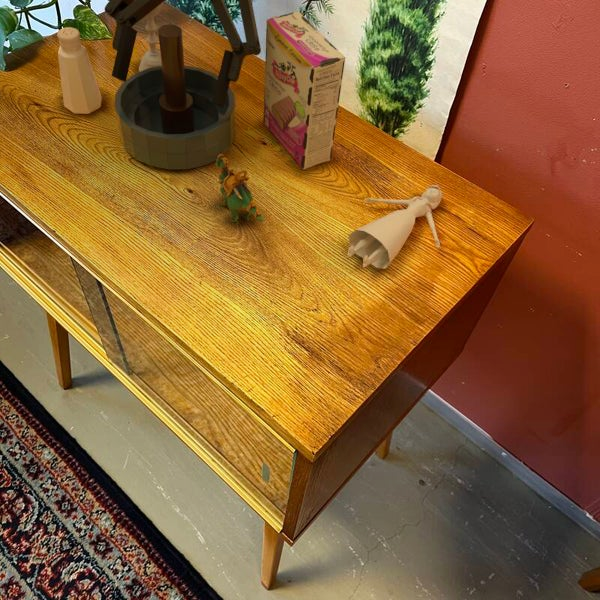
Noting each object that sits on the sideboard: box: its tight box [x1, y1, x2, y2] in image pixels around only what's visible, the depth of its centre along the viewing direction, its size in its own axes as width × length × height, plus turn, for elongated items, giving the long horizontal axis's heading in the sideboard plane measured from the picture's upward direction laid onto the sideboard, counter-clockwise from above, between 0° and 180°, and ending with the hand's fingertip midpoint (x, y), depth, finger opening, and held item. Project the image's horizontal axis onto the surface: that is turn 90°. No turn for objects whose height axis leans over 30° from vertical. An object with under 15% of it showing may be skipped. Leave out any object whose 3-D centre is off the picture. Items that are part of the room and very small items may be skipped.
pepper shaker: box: [56, 26, 103, 115], centre depth 91 cm, size 5×5×11 cm
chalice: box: [134, 0, 164, 72], centre depth 94 cm, size 7×7×18 cm
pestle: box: [157, 23, 195, 134], centre depth 86 cm, size 4×4×15 cm
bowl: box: [113, 64, 236, 171], centre depth 90 cm, size 16×16×6 cm
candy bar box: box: [262, 10, 346, 171], centre depth 87 cm, size 11×5×16 cm, turn 32°
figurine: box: [214, 154, 265, 225], centre depth 81 cm, size 3×12×8 cm, turn 31°
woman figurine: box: [347, 184, 443, 270], centre depth 83 cm, size 12×4×18 cm
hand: (167, 92), depth 85 cm, fingers open, 13 cm apart
